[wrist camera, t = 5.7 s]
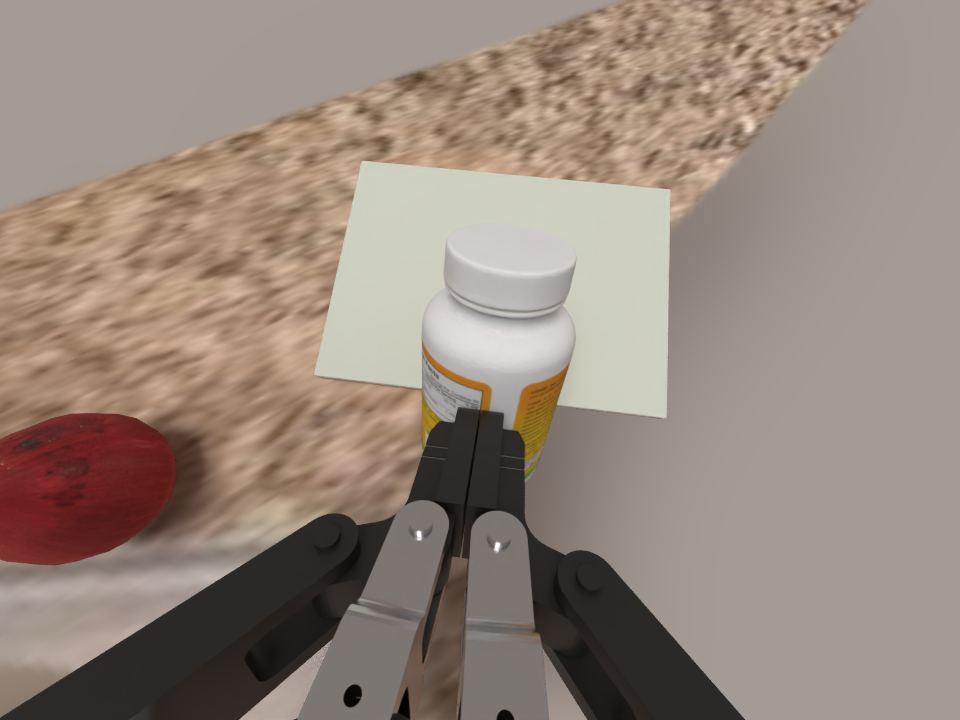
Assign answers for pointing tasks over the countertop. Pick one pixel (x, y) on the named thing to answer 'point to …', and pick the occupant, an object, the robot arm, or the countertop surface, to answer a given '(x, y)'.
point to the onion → (80, 486)
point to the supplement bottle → (500, 331)
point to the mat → (517, 201)
